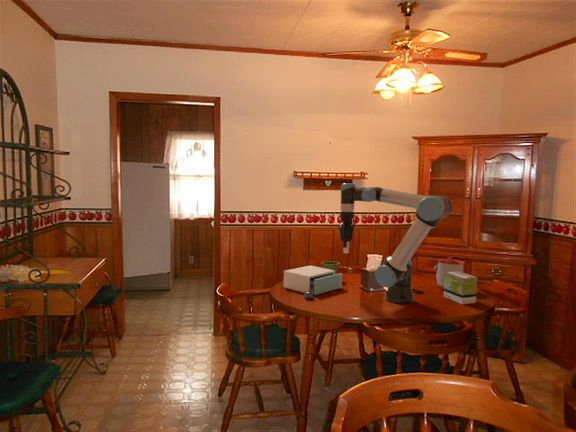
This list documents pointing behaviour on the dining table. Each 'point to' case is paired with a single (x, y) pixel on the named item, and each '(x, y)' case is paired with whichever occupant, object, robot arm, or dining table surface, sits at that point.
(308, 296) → the grey knob
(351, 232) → the robot arm
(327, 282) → the drawer
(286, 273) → the white drawer box
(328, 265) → the plant pot
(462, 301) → the tea box
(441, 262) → the citrus juicer
